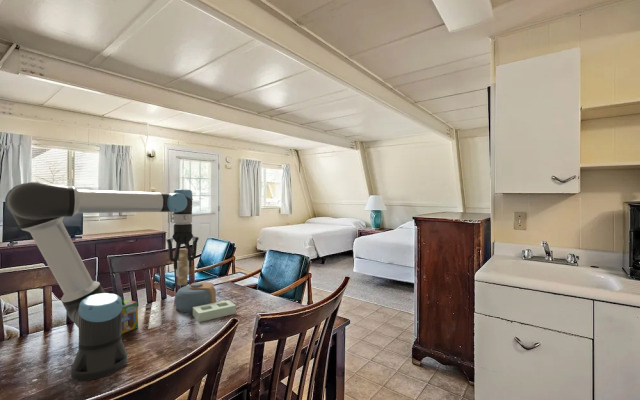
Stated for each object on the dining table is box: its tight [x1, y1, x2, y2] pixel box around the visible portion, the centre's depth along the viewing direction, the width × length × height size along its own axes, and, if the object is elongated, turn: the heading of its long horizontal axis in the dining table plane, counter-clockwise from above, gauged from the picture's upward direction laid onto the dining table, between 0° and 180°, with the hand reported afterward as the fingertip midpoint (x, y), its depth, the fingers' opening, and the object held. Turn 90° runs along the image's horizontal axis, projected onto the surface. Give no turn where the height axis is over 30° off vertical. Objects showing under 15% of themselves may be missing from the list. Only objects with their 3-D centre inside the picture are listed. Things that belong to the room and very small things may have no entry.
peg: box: [176, 247, 188, 287], centre depth 134 cm, size 3×3×16 cm
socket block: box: [192, 299, 237, 323], centre depth 147 cm, size 18×10×4 cm, turn 128°
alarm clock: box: [175, 281, 218, 313], centre depth 158 cm, size 19×20×12 cm
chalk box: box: [120, 296, 139, 335], centre depth 129 cm, size 9×9×15 cm
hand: (182, 275), depth 134 cm, fingers closed on peg, 3 cm apart
